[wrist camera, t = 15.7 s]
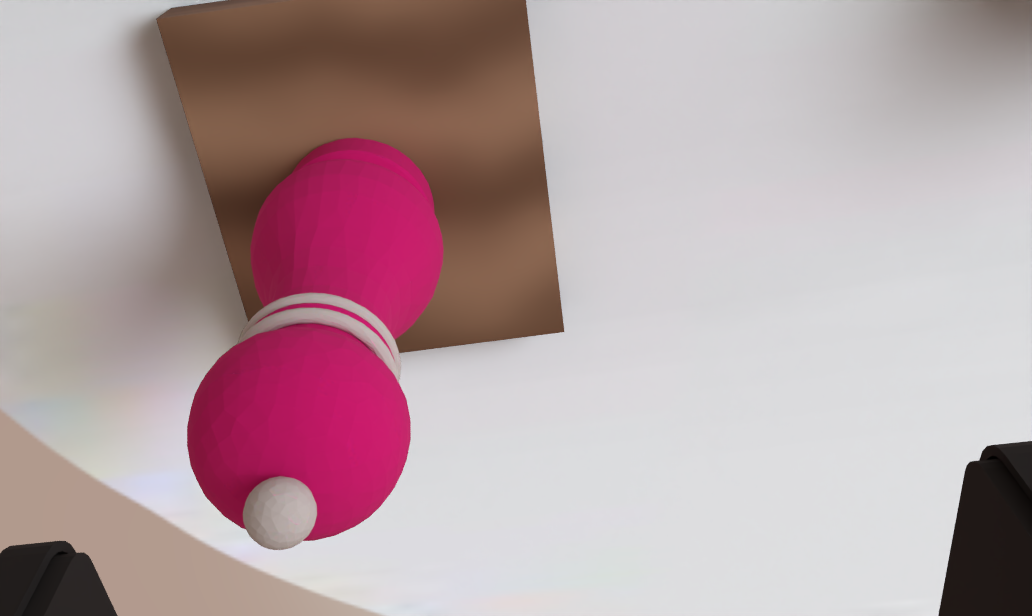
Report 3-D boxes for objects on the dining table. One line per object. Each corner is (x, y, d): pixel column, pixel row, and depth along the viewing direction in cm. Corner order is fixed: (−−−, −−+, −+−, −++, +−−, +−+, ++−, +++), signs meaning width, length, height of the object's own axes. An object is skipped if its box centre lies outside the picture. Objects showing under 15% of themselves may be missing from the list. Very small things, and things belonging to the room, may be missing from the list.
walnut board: (170, 8, 38) (156, 19, 36) (519, -40, 37) (522, -32, 36) (271, 347, 46) (263, 370, 44) (560, 310, 45) (564, 331, 43)
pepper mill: (266, 267, 41) (114, 625, 24) (282, 108, 38) (119, 389, 20) (430, 295, 42) (400, 659, 25) (460, 143, 39) (450, 440, 21)
